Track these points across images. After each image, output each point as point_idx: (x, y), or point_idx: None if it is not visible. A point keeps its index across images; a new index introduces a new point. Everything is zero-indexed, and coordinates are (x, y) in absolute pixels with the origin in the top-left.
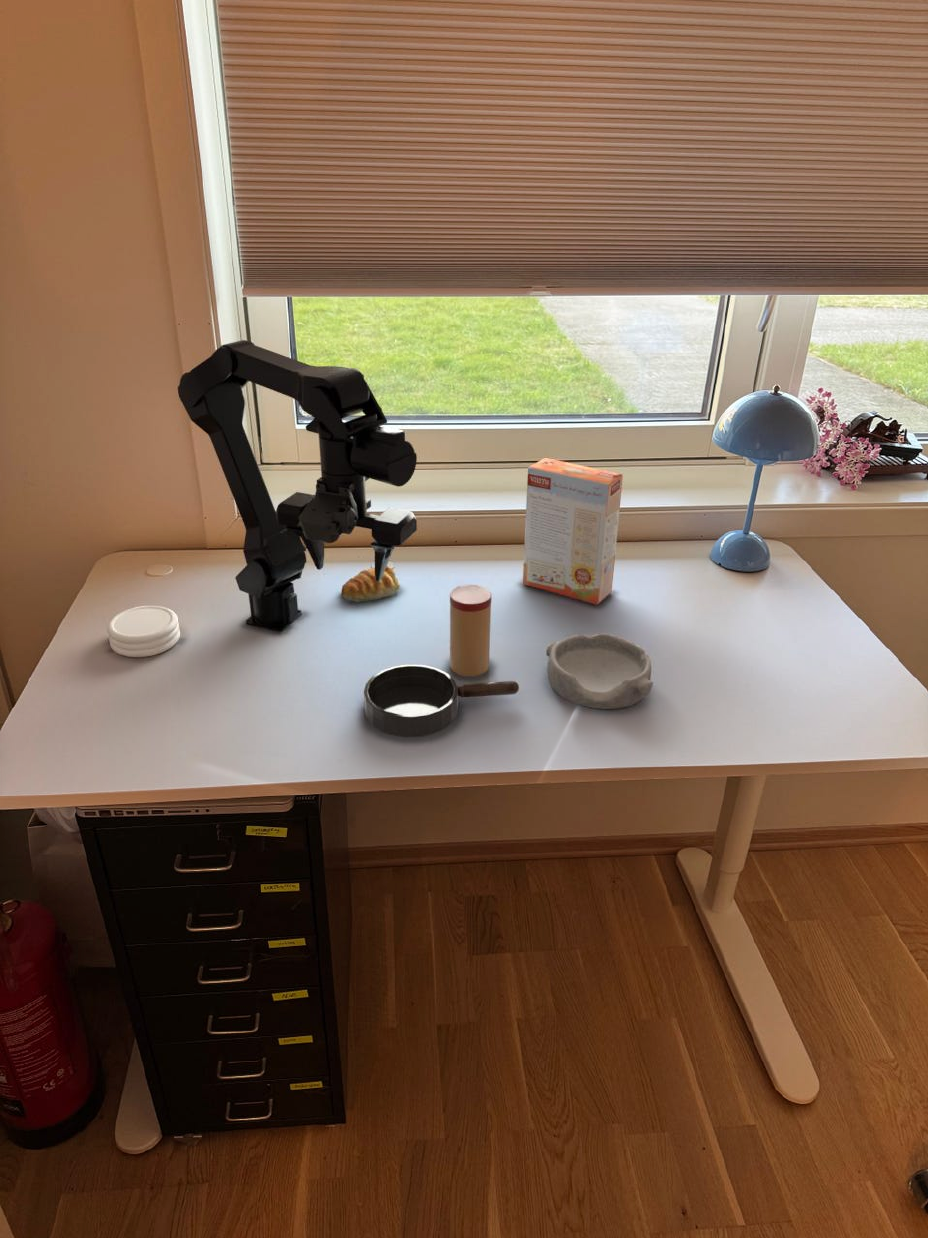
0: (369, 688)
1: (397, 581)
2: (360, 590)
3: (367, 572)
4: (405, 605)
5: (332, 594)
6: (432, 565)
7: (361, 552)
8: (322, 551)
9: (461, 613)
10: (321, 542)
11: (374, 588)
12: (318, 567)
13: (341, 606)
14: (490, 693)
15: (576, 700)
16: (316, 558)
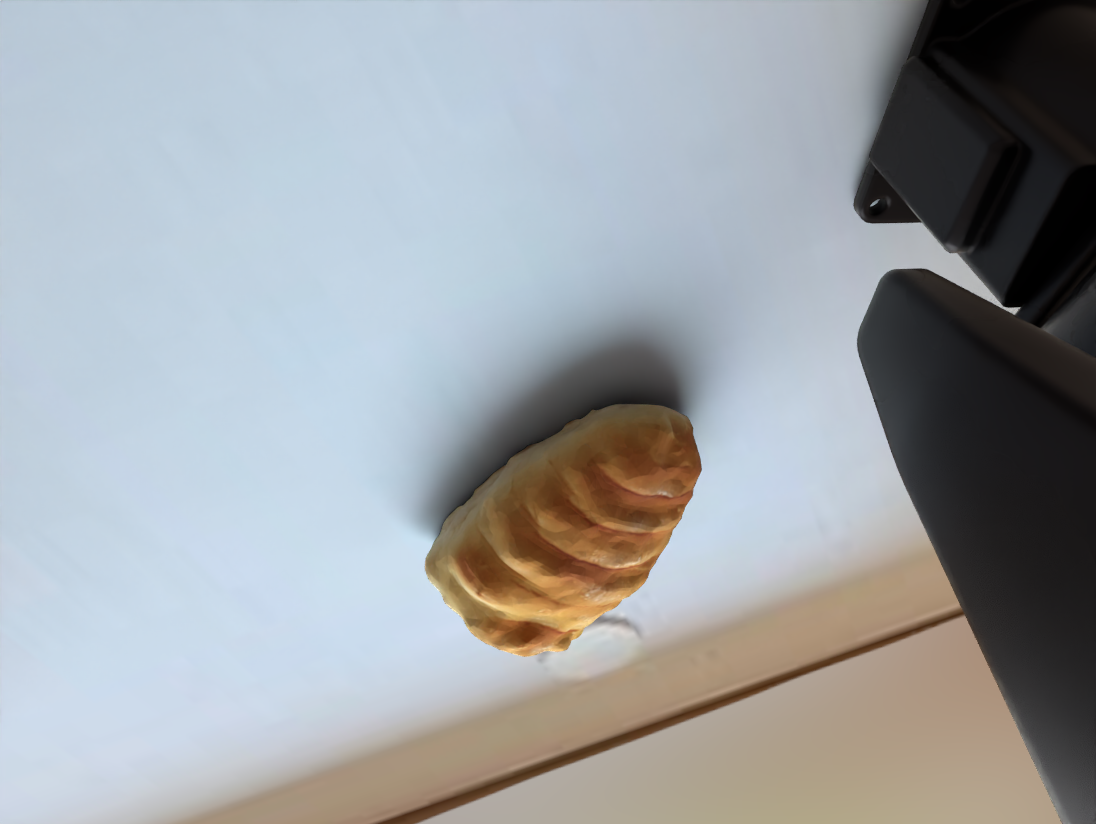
0: None
1: (442, 592)
2: (589, 467)
3: (602, 584)
4: (337, 476)
5: (739, 417)
6: (393, 722)
7: (711, 677)
8: (955, 517)
9: None
10: (1036, 640)
11: (524, 507)
12: (916, 282)
13: (659, 350)
14: None
15: None
16: (1016, 359)
